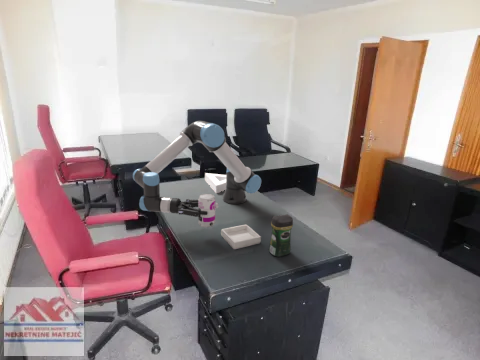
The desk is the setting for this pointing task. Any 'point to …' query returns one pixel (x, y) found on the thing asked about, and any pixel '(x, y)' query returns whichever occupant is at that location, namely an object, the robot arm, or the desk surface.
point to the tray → (240, 236)
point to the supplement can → (207, 203)
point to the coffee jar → (281, 235)
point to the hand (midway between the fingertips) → (216, 209)
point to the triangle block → (216, 181)
